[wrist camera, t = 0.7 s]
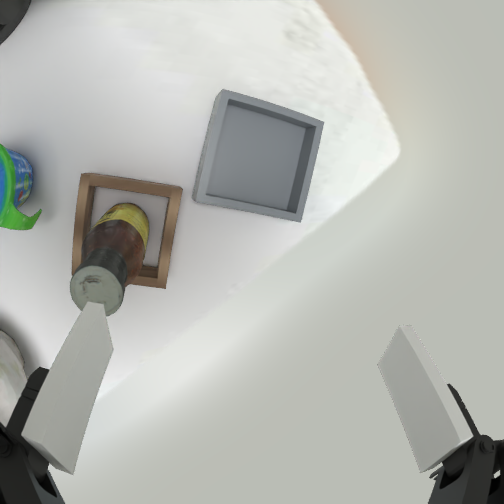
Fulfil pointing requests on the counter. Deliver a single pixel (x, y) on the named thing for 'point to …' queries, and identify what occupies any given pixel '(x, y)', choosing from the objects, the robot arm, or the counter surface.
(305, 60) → the counter surface
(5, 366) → the ceramic pitcher
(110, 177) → the square brown frame
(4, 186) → the snack cup
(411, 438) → the robot arm
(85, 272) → the sauce bottle
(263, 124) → the tray
